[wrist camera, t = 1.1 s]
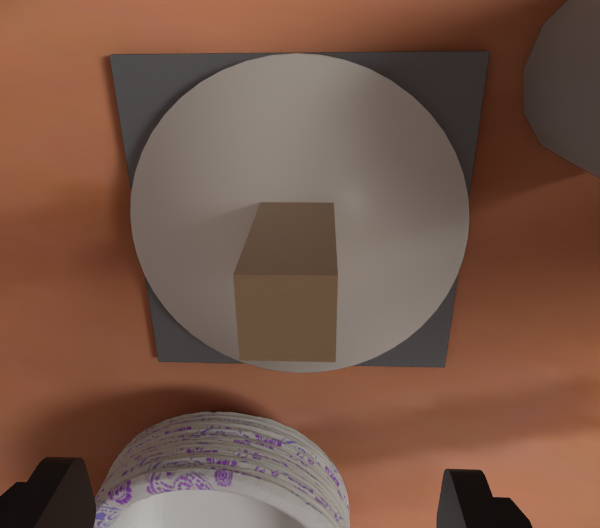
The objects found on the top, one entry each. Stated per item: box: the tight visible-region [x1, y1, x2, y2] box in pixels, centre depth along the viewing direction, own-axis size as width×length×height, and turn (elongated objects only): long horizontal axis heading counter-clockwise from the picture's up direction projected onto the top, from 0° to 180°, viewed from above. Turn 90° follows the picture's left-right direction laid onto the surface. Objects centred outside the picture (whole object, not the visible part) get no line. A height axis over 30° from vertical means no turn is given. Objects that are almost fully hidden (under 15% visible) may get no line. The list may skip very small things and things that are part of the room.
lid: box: [130, 53, 469, 373], centre depth 22 cm, size 17×17×9 cm
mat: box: [109, 51, 490, 367], centre depth 26 cm, size 17×17×1 cm
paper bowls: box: [93, 412, 350, 528], centre depth 30 cm, size 15×15×8 cm
